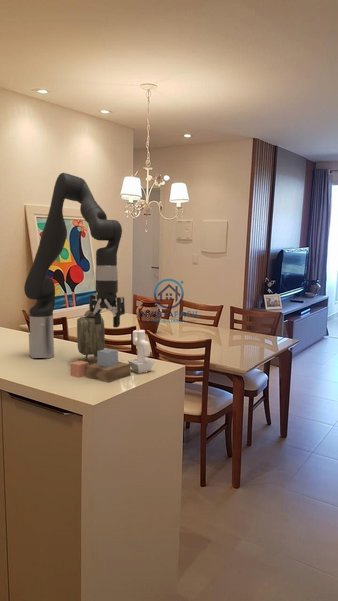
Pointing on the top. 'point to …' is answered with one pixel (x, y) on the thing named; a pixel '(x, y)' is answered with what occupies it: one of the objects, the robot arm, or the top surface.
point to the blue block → (107, 357)
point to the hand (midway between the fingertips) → (107, 325)
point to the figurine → (141, 353)
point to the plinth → (108, 371)
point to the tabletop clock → (90, 335)
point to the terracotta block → (78, 368)
